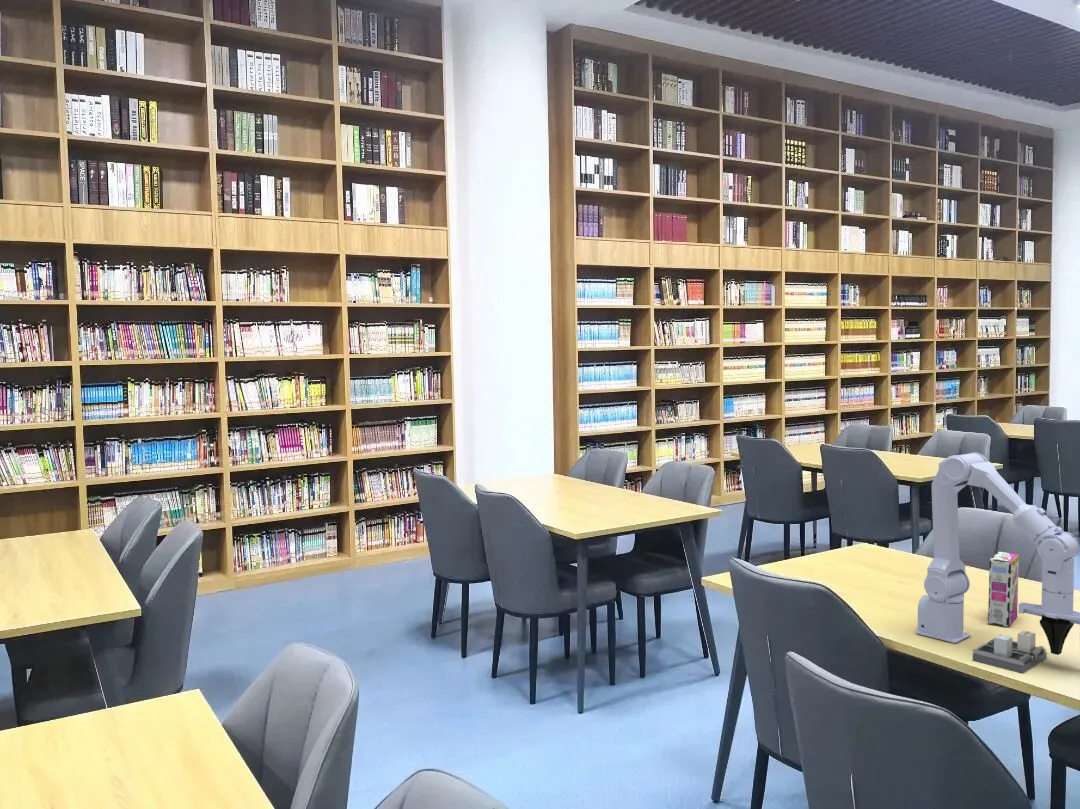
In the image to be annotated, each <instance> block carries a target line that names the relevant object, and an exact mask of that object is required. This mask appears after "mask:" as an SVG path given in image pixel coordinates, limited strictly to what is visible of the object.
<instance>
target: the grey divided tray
mask: <svg viewBox="0 0 1080 809" xmlns="http://www.w3.org/2000/svg"><path fill="white" fill-rule="evenodd" d="M1047 652H1048V651H1046V648H1045V647H1044V645H1043V646H1042V645H1040V646H1035V649H1034V650H1033V651H1031V652H1026V651H1022V650H1018V649H1017V641H1014V640H1012V656H1010V657H1005V656H1001V655H997V654H994V638H993V639H991V640H989V641H987V642H986V643H983V644H982V645H979V646H977V647H976V649H975V648H974V649H973V650H972V661H974V662H978V663H981V664H985V665H989V666H993V667H996V668H1000V669H1001V668H1002V669H1005V670H1009V671H1012V672H1016V673H1019V674H1024V673H1025V672H1027V671H1029V670H1030V669H1031V668H1034V667H1035V666H1037V665H1038V664H1040V663H1041V662H1043V661H1045V660H1046V659H1048V658H1047V657H1048V656H1047V655H1048V654H1047Z"/></svg>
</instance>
